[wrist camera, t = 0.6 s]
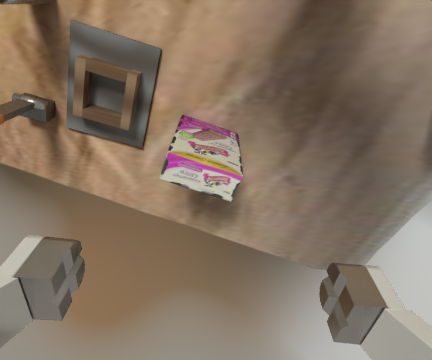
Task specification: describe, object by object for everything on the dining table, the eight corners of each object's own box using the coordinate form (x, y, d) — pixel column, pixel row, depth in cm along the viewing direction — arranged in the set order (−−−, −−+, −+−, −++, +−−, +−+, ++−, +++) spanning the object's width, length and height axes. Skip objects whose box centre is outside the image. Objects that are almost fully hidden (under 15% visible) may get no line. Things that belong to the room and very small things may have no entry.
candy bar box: (239, 131, 54) (245, 176, 40) (229, 154, 57) (232, 203, 43) (181, 111, 53) (167, 151, 39) (174, 136, 55) (158, 181, 41)
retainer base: (25, 88, 51) (11, 94, 48) (54, 96, 52) (43, 103, 48) (25, 108, 53) (13, 115, 50) (54, 116, 53) (43, 124, 50)
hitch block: (72, 20, 45) (60, 21, 42) (161, 48, 47) (156, 52, 44) (68, 125, 54) (57, 133, 51) (142, 146, 56) (137, 155, 53)
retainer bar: (18, 97, 48) (-27, 113, 39) (34, 102, 48) (-7, 118, 39) (18, 104, 48) (-27, 121, 39) (34, 109, 48) (-6, 127, 40)
